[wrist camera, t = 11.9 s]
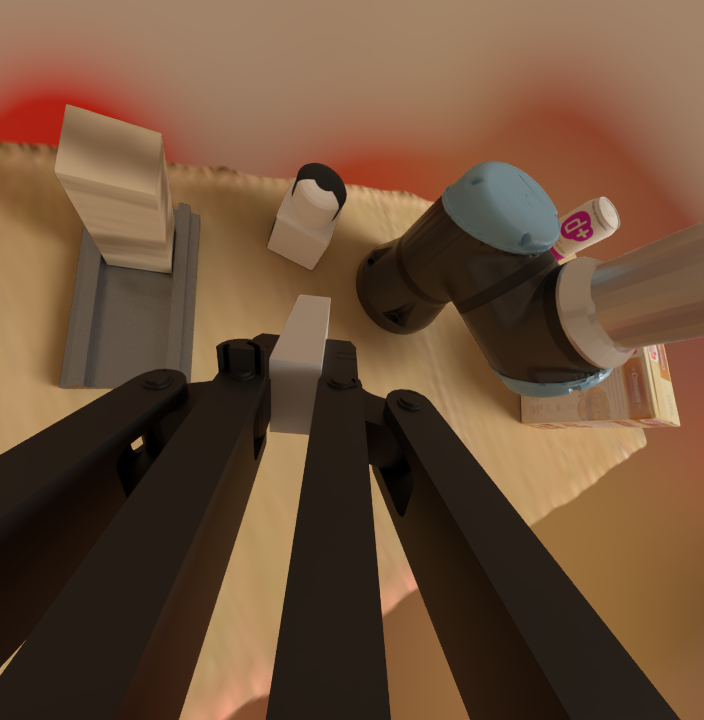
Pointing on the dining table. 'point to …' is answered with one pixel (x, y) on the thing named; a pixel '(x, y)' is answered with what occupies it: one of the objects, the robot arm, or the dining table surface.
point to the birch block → (118, 188)
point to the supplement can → (585, 227)
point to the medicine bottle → (308, 215)
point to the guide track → (131, 314)
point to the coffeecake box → (613, 398)
